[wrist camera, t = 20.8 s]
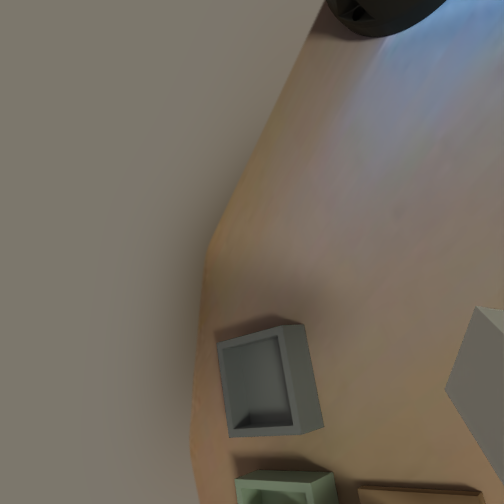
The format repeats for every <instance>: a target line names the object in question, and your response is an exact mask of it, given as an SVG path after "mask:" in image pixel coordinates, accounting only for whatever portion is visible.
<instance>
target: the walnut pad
mask: <svg viewBox="0 0 504 504" xmlns="http://www.w3.org/2000/svg"><path fill="white" fill-rule="evenodd" d="M357 490H358V495H359V499H360V504H485V501H484V498H483V494H482V492H474V491H455V490H437V489H418V488H400V487H381V486H361V487H360V488H358V489H357Z"/></svg>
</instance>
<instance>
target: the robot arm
mask: <svg viewBox="0 0 504 504" xmlns="http://www.w3.org/2000/svg"><path fill="white" fill-rule="evenodd" d="M326 1H327V3H328V6H329V8H330V9H331V11H332V12H333V14H334V15H335V16H336V17H337V18H338V19H339V20H340V21H341V22H342V23H343V24H344V25H345V26H346V27H348V28H349V29H350V30H351V31H353V32H355V33H357V34H360V35H363V36H369V37H378V36H385V35H390V34H393V33H396V32H399V31H402V30H404V29H406V28H408V27H410V26H412V25H414V24H416V23H417V22H419V21H421V20H422V19H424V18H425V17H427V16H428V15H429V14H431V13H432V12H433V11H435V10H436V9H437V8H438V7H439V6H440V5H442V4H443V3H444V2H445V1H446V0H326ZM445 391H446V393H447V394H448V396H449V398H450V399H451V401H452V402H453V404H454V406H455V407H456V409H457V411H458V412H459V414H460V415H461V417H462V419H463V420H464V422H465V423H466V425H467V427H468V428H469V430H470V432H471V433H472V435H473V436H474V438H475V440H476V441H477V443H478V445H479V446H480V448H481V449H482V451H483V453H484V454H485V456H486V457H487V459H488V461H489V462H490V464H491V466H492V467H493V469H494V470H495V472H496V474H497V475H498V477H499V479H500V480H501V482H502V483H503V485H504V310H498V309H491V308H484V307H478V306H476V307H475V309H474V312H473V315H472V317H471V320H470V323H469V325H468V328H467V331H466V333H465V336H464V339H463V341H462V344H461V347H460V349H459V352H458V355H457V358H456V360H455V363H454V366H453V368H452V371H451V374H450V376H449V379H448V382H447V384H446V387H445Z"/></svg>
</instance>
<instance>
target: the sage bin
mask: <svg viewBox="0 0 504 504" xmlns="http://www.w3.org/2000/svg"><path fill="white" fill-rule="evenodd" d="M235 486H236V493H237V501H238V504H339V501H338V496H337V491H336V486H335V480H334V475H333V472H310V471H279V470H256V471H254V472H251V473H249V474H246V475H243V476H241V477H238V478H236V479H235Z"/></svg>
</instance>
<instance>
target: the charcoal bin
mask: <svg viewBox="0 0 504 504" xmlns="http://www.w3.org/2000/svg"><path fill="white" fill-rule="evenodd" d="M217 350H218V358H219V365H220V373H221V380H222V388H223V396H224V403H225V411H226V418H227V426H228V433H229V438H231V437H255V436H280V435H302V434H305V433H308V432H311V431H314V430H317V429H320V428H322V427H324V424H323V419H322V414H321V409H320V404H319V399H318V394H317V389H316V384H315V378H314V373H313V368H312V363H311V358H310V353H309V348H308V343H307V338H306V333H305V327H304V324H301V325H281V326H277V327H274V328H270V329H266V330H263V331H259V332H255V333H252V334H248V335H244V336H241V337H237V338H233V339H229V340H226V341H222V342H218V343H217Z"/></svg>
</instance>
